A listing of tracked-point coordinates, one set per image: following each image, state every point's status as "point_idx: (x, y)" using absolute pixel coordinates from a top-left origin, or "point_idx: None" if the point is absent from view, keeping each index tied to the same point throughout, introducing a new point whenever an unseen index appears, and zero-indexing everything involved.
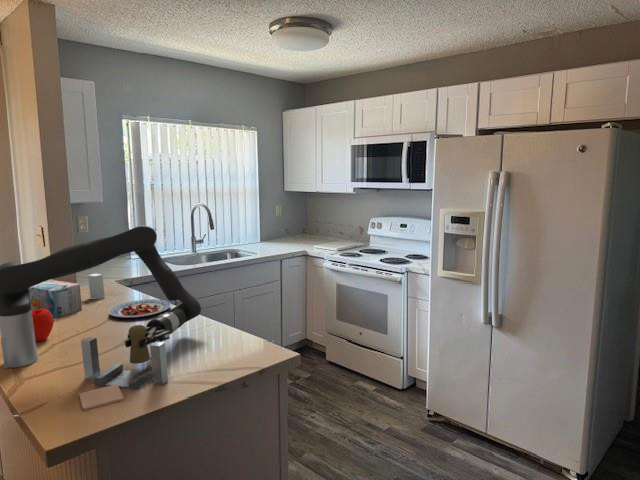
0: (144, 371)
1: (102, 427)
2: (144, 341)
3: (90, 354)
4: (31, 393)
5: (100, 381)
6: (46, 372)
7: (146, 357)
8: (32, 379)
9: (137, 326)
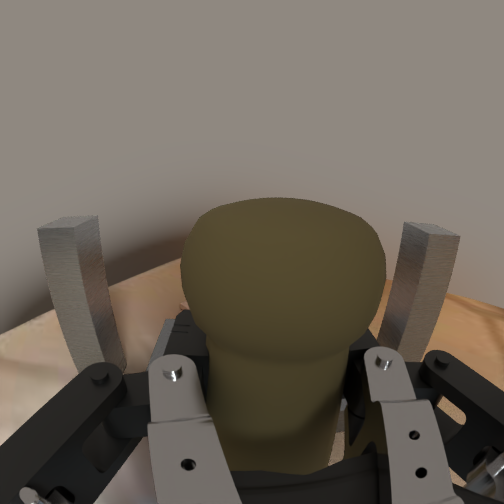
0: None
1: (174, 263)
2: (183, 324)
3: (395, 277)
4: None
5: None
6: (500, 341)
7: None
8: (478, 320)
9: (275, 199)
